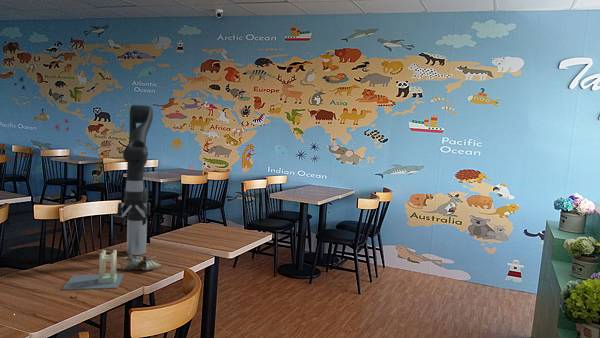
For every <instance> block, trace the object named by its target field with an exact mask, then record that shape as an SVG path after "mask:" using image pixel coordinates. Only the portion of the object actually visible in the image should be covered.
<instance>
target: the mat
mask: <svg viewBox="0 0 600 338" xmlns="http://www.w3.org/2000/svg"><path fill="white" fill-rule="evenodd" d="M124 276H125V274H124V273H117V279H116V281H115V283H99V284H98V279H99V274H72V275H71V277H70V278H69V280H67V282H66V283H65V285H64V286H63V287H62V288H61V290H62V291H69V290H70V291H75V290H77V291H78V290H106V289H108V290H110V289H118V288H119V287H120V284H121V282H122V280H123V277H124Z"/></svg>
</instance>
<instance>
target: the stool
mask: <svg viewBox="0 0 600 338" xmlns="http://www.w3.org/2000/svg"><path fill="white" fill-rule="evenodd" d="M106 253H107V252H106V249H105V250H104V249H103V250H101V253H99V260H98V261H99V265H98V266H99V272H98V273H99V279H98V284H99V283H115V281H116V279H117V274H118V273H117V258H118V257H117V255H118V254H117V250H116V249H113V250H112V252H111V253H110V254H106ZM106 262H110V273H106Z"/></svg>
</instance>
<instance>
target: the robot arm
mask: <svg viewBox="0 0 600 338" xmlns="http://www.w3.org/2000/svg"><path fill="white" fill-rule="evenodd" d="M153 117H154V111H153V108H152V106H150V105H141V104H140V105H139V104H132V105H131V106H130V108H129V135H128V136H129V138H128V144H127V145H126V146H125V148H124V150H123V151H122V152H123V153H122V156H123V160H124V161H126V163H127V167H126V169H127V170H126V180H125V189H124V202H121V201H120V202H118V203H117V213H116V216H118V217H120V218H121V225H123V226H125V225H127V226H126V254H127V255H130V256H131V255H132V256H141V255H145V254H146V253H147V238H148V237H147V233H148V232H147V231H148V230H147V229H148V228H147V227H148V217H150V216H151V202H148V200H149V191H148V188H147V187H144V169H145V166H146V164H147V161H148V156H149V153H148V151H149V150H148V147H147V145H146V142H147V135H148V133H149V130H150V128H151V126H152V123H153ZM137 124H139V126H137ZM124 207H125V208H126V209H125V210H124V212H123V213H122V208H124ZM126 215H127V218H126ZM126 219H127V223H126Z"/></svg>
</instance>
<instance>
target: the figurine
mask: <svg viewBox="0 0 600 338" xmlns="http://www.w3.org/2000/svg"><path fill="white" fill-rule="evenodd" d="M156 257H157V256H156V255H155V256H152V257H149V258H148V257H147V256H143V257H141V256H140V255H129V254H127V256H125V257H123V258H122V259H123V260H124V261H129V262H127V263H126V264H120V269H122V270H123V271H124V270H127V271H131V270H132V271H134V270H142V271H152V270H154V269H158V268H161V267H164V264H161V263H159V262H157V261H155V260H154V259H155V258H156ZM133 269H134V270H133Z"/></svg>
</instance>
